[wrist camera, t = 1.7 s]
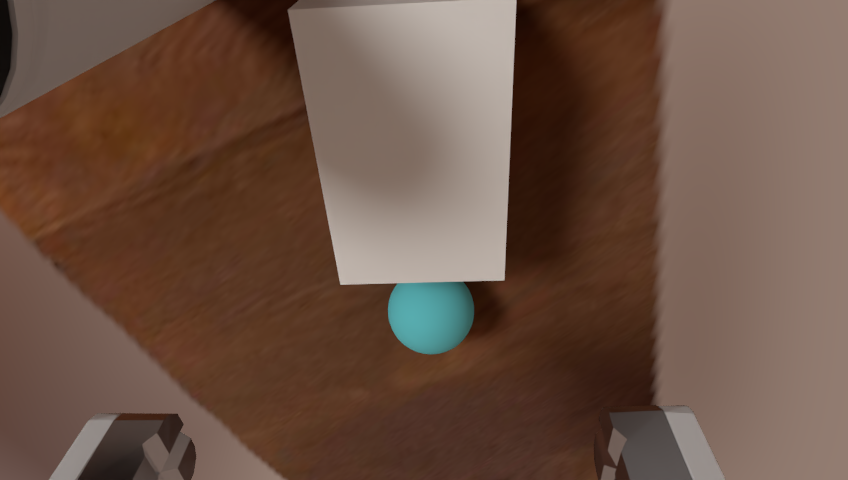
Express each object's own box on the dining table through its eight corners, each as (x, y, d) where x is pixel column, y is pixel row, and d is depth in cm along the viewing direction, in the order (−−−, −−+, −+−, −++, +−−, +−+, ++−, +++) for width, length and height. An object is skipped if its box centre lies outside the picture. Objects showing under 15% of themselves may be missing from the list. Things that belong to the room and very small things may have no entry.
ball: (387, 251, 31) (379, 308, 27) (471, 248, 31) (476, 306, 26) (395, 313, 34) (388, 373, 30) (472, 311, 33) (476, 372, 29)
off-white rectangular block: (331, -29, 22) (287, 9, 16) (494, -38, 22) (516, -3, 16) (362, 193, 29) (340, 284, 22) (490, 189, 28) (504, 280, 22)
